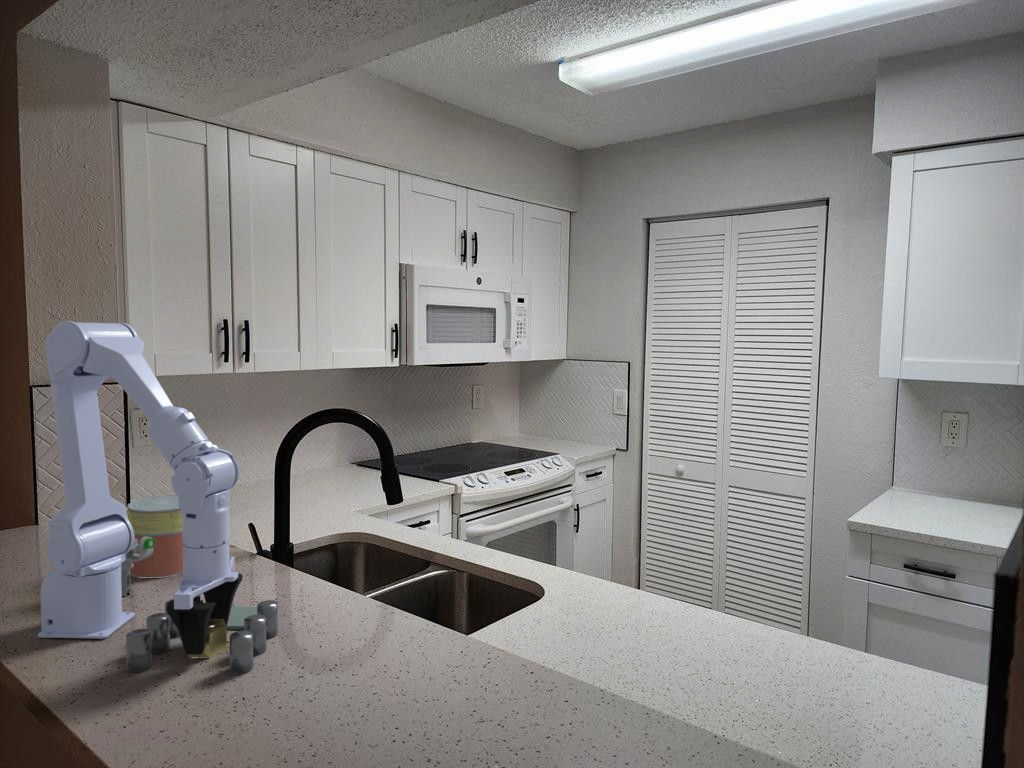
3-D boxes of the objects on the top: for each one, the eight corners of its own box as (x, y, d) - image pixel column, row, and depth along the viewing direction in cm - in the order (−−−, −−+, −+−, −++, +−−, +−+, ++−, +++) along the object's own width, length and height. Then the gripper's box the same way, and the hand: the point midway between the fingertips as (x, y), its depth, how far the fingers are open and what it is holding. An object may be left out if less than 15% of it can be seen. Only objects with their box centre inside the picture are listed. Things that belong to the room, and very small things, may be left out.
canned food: (210, 565, 125) (210, 501, 124) (150, 583, 115) (149, 514, 114) (175, 553, 131) (175, 492, 130) (115, 569, 121) (114, 504, 120)
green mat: (194, 628, 98) (194, 625, 98) (214, 609, 105) (214, 606, 105) (257, 629, 99) (257, 626, 99) (272, 610, 106) (272, 607, 106)
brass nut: (179, 658, 90) (179, 632, 89) (194, 642, 94) (194, 618, 94) (219, 659, 90) (219, 633, 90) (233, 643, 94) (233, 618, 94)
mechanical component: (145, 601, 107) (144, 540, 107) (90, 595, 109) (89, 534, 109) (158, 594, 110) (158, 534, 110) (104, 588, 112) (103, 529, 112)
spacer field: (122, 672, 85) (121, 638, 85) (170, 628, 98) (170, 598, 98) (248, 674, 86) (248, 640, 86) (280, 630, 99) (280, 600, 98)
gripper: (214, 560, 84) (214, 666, 85) (255, 527, 98) (255, 618, 99) (156, 559, 84) (157, 665, 85) (206, 526, 98) (206, 617, 99)
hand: (206, 640), depth 92 cm, fingers open, 7 cm apart
